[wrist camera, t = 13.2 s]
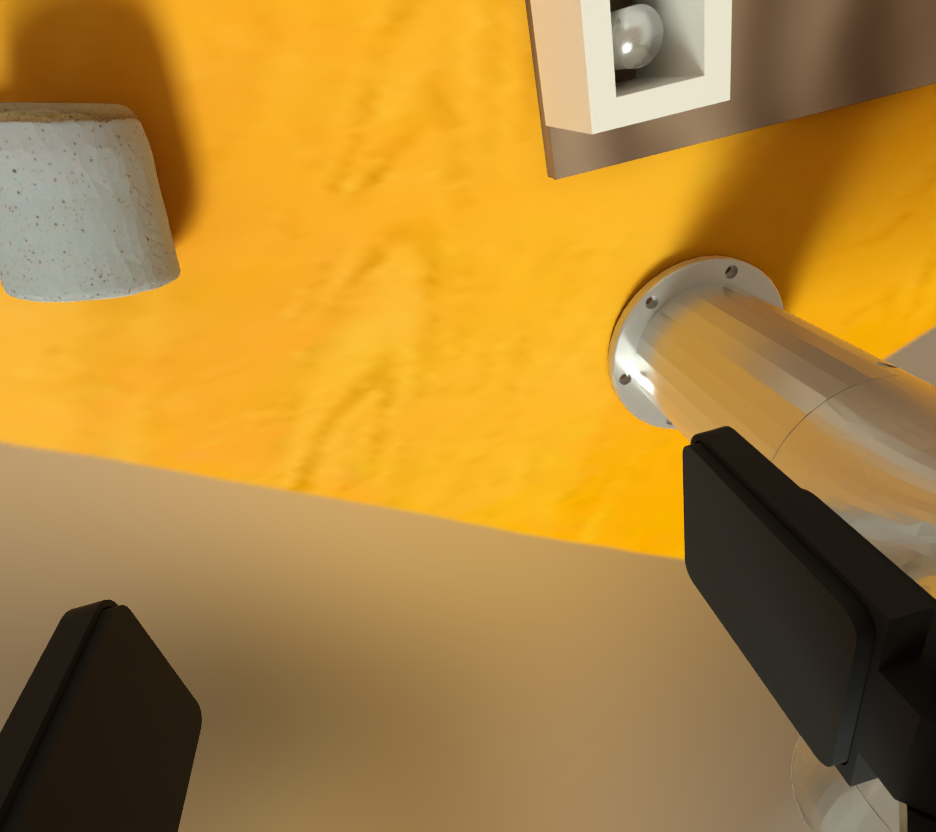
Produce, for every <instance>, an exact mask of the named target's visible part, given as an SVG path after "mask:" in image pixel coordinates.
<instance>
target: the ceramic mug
mask: <svg viewBox="0 0 936 832" xmlns="http://www.w3.org/2000/svg"><path fill="white" fill-rule="evenodd" d="M179 274H180V267H179V263H178V259H177V255H176V251H175V247H174V243H173V239H172V235H171V230H170V226H169V221H168V217H167V212H166V208H165V205H164V201H163V198H162V194H161V191H160V186H159V182H158V177H157V172H156V167H155V163H154V158H153V154H152V150H151V147H150V144H149V141H148V139H147V136H146V134H145V131H144V129H143V126H142V124H141V122H140V120H139V118H138V116H137V115H136V114H135V113H134V112H133V111H132V110H130V109H129V108H128V107H126V106H125V105H121V104H105V103H39V102H2V103H0V279H1V283H2V286H3V288H4V290H5V292H6V293H7V294H9V295H10V296H12V297H15V298H18V299H25V300H29V301H37V302H72V301H85V300H99V299H109V298H117V297H124V296H129V295H134V294H137V293H140V292H143V291H149V290H153V289H157V288H159V287H161V286H164V285H166V284H168V283H170V282H172V281H173V280H175V279H177V278H178V276H179Z"/></svg>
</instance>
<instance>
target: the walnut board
mask: <svg viewBox="0 0 936 832" xmlns="http://www.w3.org/2000/svg"><path fill="white" fill-rule="evenodd" d="M525 2H526V10H527V18H528V25H529V33H530V41H531V49H532V56H533V64H534V72H535V80H536V88H537V95H538V103H539V111H540V119H541V126H542V134H543V142H544V150H545V157H546V165H547V173H548V177H551V178H553V179H555V180H557V179H561V178H564V177H568V176H572V175H576V174H580V173H584V172H588V171H592V170H596V169H600V168H604V167H608V166H612V165H616V164H620V163H623V162H627V161H631V160H635V159H639V158H643V157H647V156H651V155H655V154H659V153H663V152H667V151H671V150H675V149H678V148H682V147H686V146H690V145H694V144H698V143H702V142H706V141H710V140H714V139H718V138H722V137H726V136H730V135H734V134H737V133H741V132H745V131H749V130H753V129H757V128H761V127H765V126H769V125H773V124H777V123H781V122H785V121H789V120H793V119H796V118H800V117H804V116H808V115H812V114H816V113H820V112H824V111H828V110H832V109H836V108H840V107H844V106H848V105H852V104H855V103H859V102H863V101H867V100H871V99H875V98H879V97H883V96H887V95H891V94H895V93H899V92H903V91H907V90H911V89H914V88H918V87H922V86H926V85H930V84H934V83H936V0H732V26H731V77H730V100H728V101H724V102H720V103H716V104H712V105H708V106H704V107H700V108H696V109H692V110H688V111H684V112H680V113H676V114H672V115H668V116H664V117H660V118H656V119H652V120H648V121H644V122H640V123H636V124H632V125H628V126H624V127H620V128H616V129H612V130H608V131H604V132H600V133H596V134H587V133H582V132H577V131H571V130H566V129H561V128H555V127H550V126H546V123H545V115H544V107H543V99H542V91H541V83H540V75H539V67H538V59H537V51H536V43H535V35H534V27H533V19H532V11H531V3H530V0H525ZM630 6H632V0H610V12H613V11H616V10H620V9H623V8H626V7H630ZM614 71H615V83H618V82H622V81H626V80H630V79H634V78H636V68H635V69H620V70H614Z"/></svg>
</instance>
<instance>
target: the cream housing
mask: <svg viewBox="0 0 936 832" xmlns="http://www.w3.org/2000/svg"><path fill="white" fill-rule="evenodd" d="M530 3H531V11H532V19H533V27H534V35H535V43H536V51H537V59H538V67H539V75H540V83H541V91H542V99H543V107H544V115H545V123H546V126H550V127H555V128H561V129H566V130H571V131H577V132H582V133H587V134H596V133H600V132H604V131H608V130H612V129H616V128H620V127H624V126H628V125H632V124H636V123H640V122H644V121H648V120H652V119H656V118H660V117H664V116H668V115H672V114H676V113H680V112H684V111H688V110H692V109H696V108H700V107H704V106H708V105H712V104H716V103H720V102H724V101H728V100H730V77H731V26H732V0H632V6H633V5H637V4H645V5H648V6H650V7H652V8H654V9H655V10H656V11H657V13H658V14H659V16H660V18H661V20H662V23H663V41H662V44H661V47H660V50H659V52H658V53H657V55H656V56H655V58H654V59H653V60H652V61H651V62H650V63H648V64H647V65H645V66H643V67H640V68H636V78H634V79H630V80H626V81H622V82H618V83H615V71H614V56H613V42H612V27H611V12H610V0H530Z"/></svg>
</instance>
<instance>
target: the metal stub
mask: <svg viewBox="0 0 936 832" xmlns="http://www.w3.org/2000/svg"><path fill="white" fill-rule="evenodd" d="M611 27H612V42H613V56H614V70H620V69H635V68H640V67H643V66H645V65H647V64H648V63H650V62H651V61H652V60H653V59H654V58H655V56H656V55H657V53H658V52H659V50H660V47H661V44H662V41H663V23H662V20H661V18H660V16H659V14H658V13H657V11H656V10H655V9H654V8H652V7H650V6H648V5H645V4H637V5H633V6H630V7H626V8H623V9H620V10H616V11H613V12H611Z"/></svg>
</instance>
